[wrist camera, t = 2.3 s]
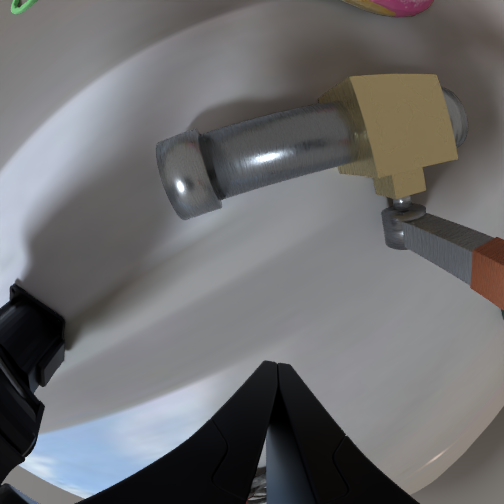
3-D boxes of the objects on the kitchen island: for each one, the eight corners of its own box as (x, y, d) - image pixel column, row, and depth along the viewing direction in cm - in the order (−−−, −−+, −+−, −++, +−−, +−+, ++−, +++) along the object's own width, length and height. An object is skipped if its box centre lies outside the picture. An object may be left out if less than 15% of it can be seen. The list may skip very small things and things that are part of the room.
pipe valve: (207, 255, 17) (199, 289, 12) (168, 140, 15) (142, 131, 10) (439, 185, 17) (485, 194, 12) (417, 88, 14) (461, 76, 10)
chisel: (377, 240, 17) (540, 353, 4) (373, 211, 16) (557, 303, 4) (411, 228, 17) (569, 314, 4) (408, 201, 16) (581, 268, 3)
